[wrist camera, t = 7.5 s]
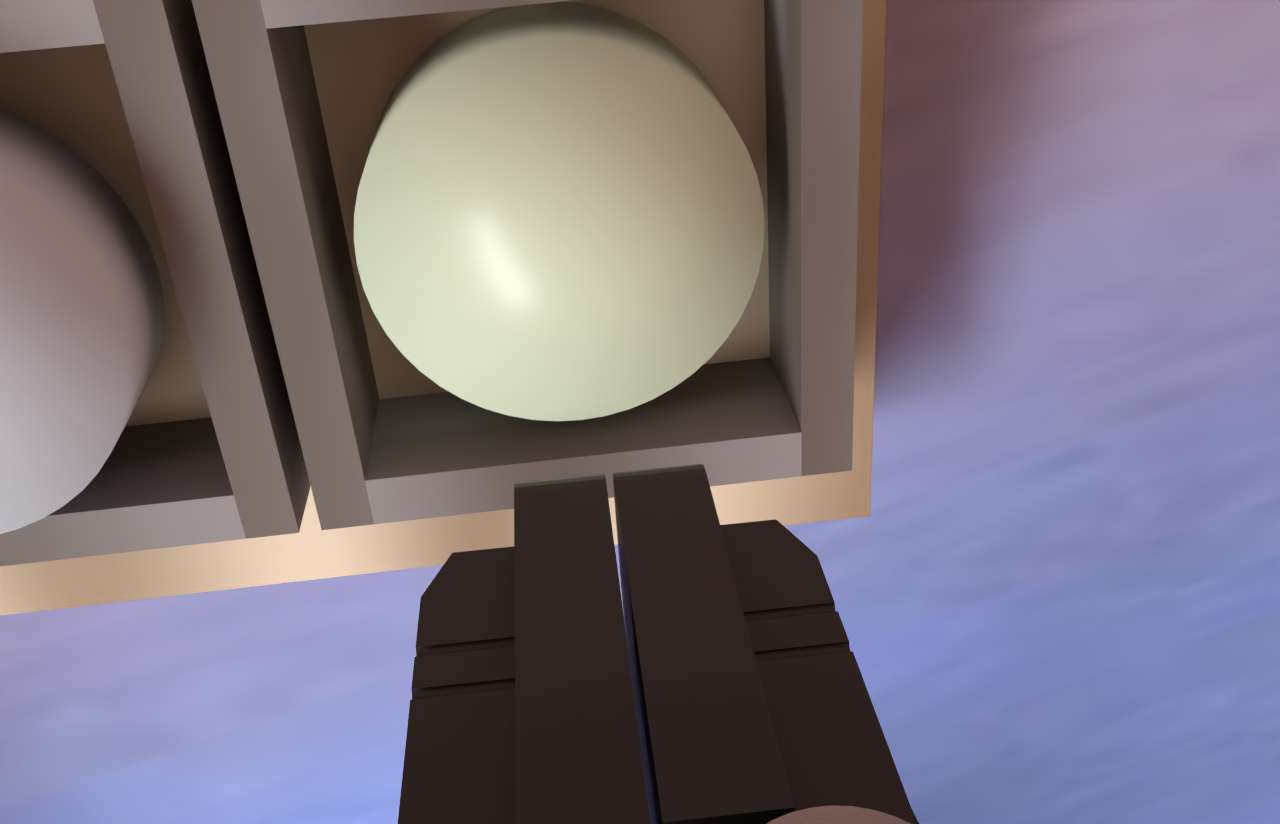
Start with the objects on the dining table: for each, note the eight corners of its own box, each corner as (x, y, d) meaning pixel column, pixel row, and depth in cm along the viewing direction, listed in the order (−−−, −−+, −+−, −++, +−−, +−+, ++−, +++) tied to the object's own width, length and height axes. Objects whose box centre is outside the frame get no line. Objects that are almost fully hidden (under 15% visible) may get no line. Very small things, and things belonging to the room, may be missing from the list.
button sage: (734, -16, 15) (760, 15, 14) (744, 340, 18) (768, 400, 16) (334, 21, 15) (315, 56, 13) (401, 376, 18) (392, 440, 16)
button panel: (835, -344, 16) (962, -366, 12) (827, 422, 22) (908, 601, 18) (-1068, -196, 15) (-1731, -159, 11) (-534, 573, 21) (-814, 804, 17)
